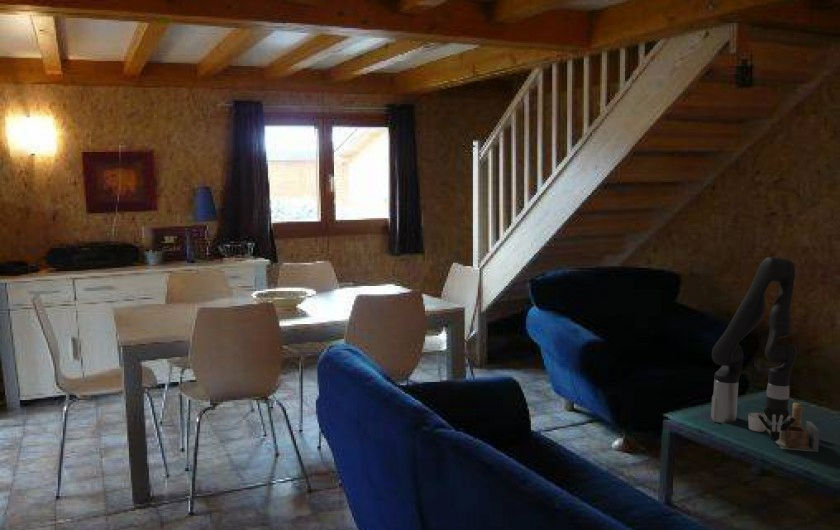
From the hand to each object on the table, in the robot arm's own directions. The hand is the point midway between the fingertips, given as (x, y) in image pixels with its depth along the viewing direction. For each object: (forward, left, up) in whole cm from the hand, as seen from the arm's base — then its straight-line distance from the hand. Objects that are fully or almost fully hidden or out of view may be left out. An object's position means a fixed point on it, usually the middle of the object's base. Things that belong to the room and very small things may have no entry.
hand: (774, 440), depth 259 cm
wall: (+13, 0, -1) cm, 13 cm away
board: (+7, +7, -2) cm, 10 cm away
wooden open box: (+7, 0, -1) cm, 7 cm away
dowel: (+11, +13, -1) cm, 17 cm away
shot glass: (-3, +15, -3) cm, 16 cm away
